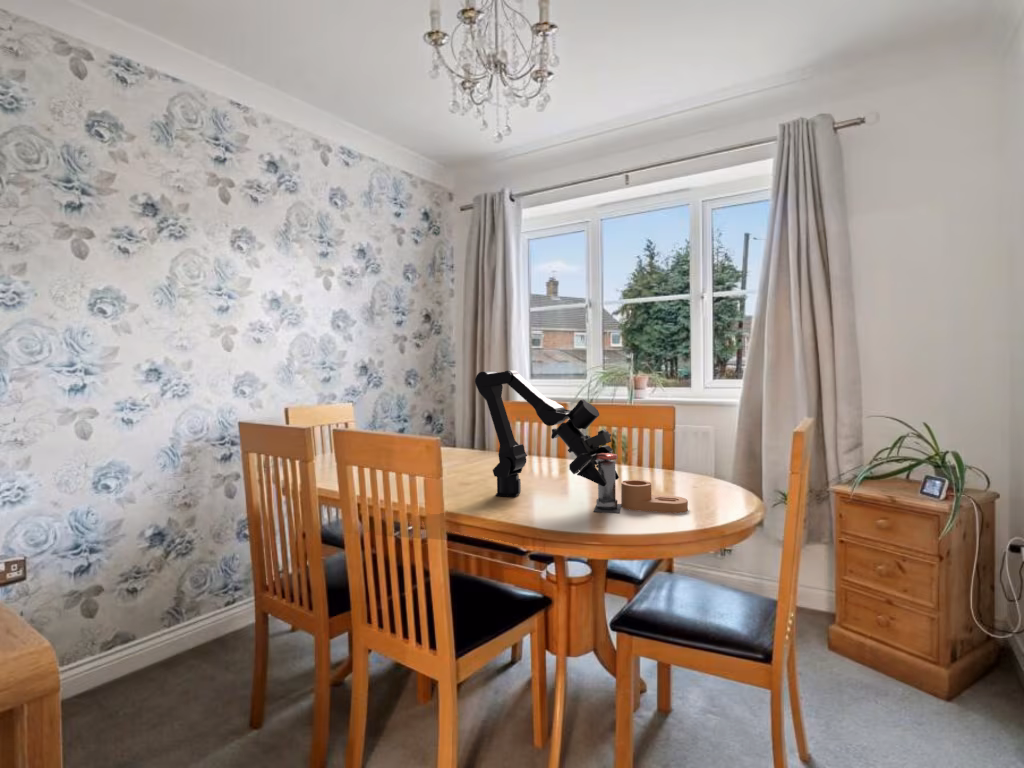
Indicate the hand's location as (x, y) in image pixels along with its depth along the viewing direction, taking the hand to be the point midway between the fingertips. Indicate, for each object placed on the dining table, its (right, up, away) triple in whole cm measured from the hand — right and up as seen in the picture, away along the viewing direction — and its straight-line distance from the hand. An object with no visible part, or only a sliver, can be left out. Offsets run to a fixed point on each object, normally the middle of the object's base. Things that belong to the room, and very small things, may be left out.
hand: (611, 482), depth 157 cm
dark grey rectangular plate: (-1, -7, +1) cm, 8 cm away
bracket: (+12, -8, +1) cm, 14 cm away
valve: (-1, -7, +1) cm, 7 cm away
